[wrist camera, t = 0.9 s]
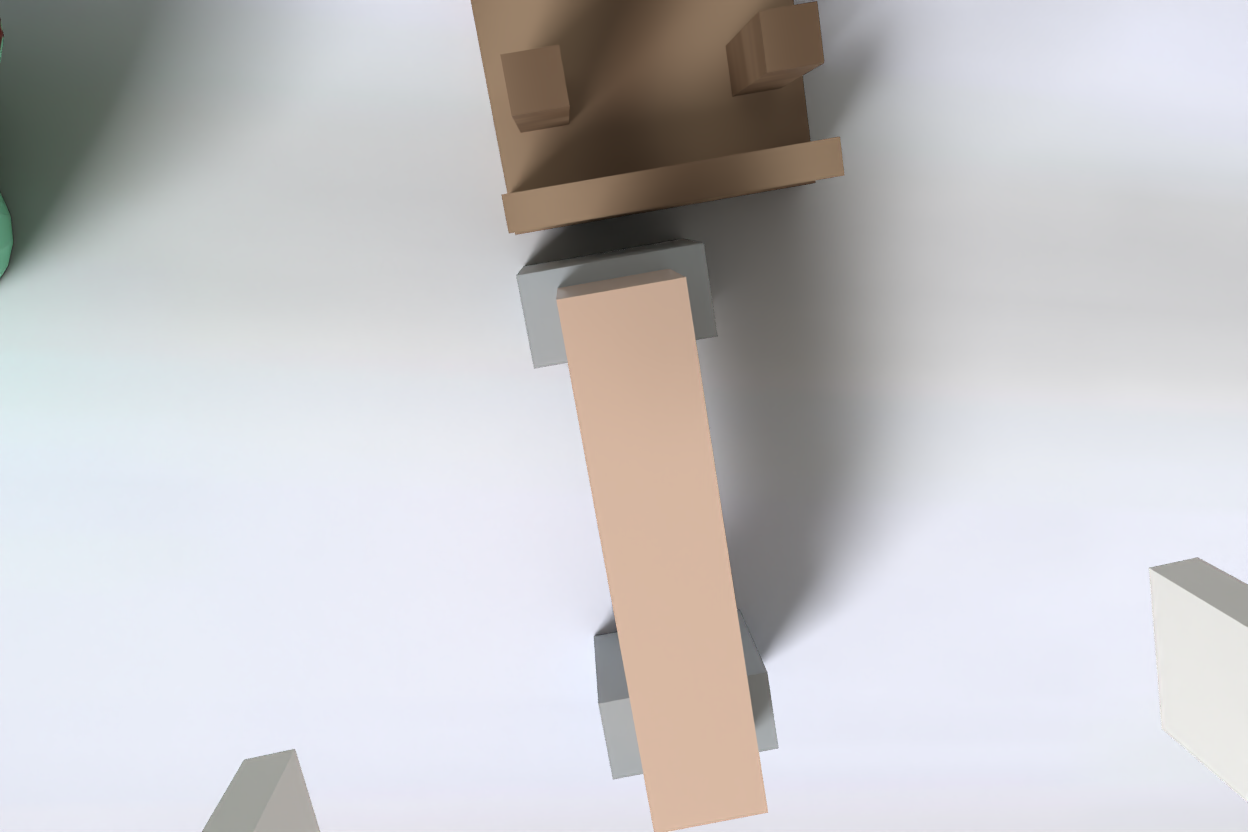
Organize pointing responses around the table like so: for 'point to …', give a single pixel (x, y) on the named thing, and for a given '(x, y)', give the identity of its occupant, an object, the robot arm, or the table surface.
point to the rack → (648, 103)
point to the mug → (4, 214)
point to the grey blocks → (550, 350)
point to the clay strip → (664, 544)
